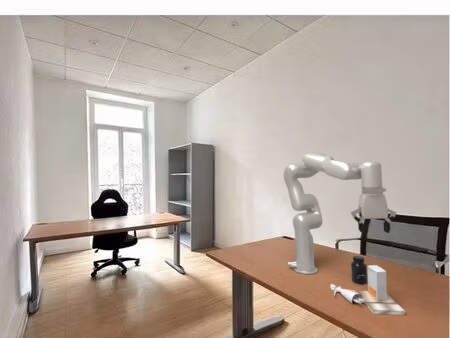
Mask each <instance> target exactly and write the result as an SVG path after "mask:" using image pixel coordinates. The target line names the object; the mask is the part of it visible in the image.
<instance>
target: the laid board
mask: <svg viewBox="0 0 450 338" xmlns="http://www.w3.org/2000/svg"><path fill="white" fill-rule="evenodd" d="M367 308H368V309H369V310H370V311H371V312H372V314H374V315H394V316H395V315H396V316H397V315H398V316H406V310H405V309H404V308H402V306H400V304H398V303H396V304H386V303H368V305H367Z"/></svg>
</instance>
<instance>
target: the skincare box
mask: <svg viewBox="0 0 450 338" xmlns="http://www.w3.org/2000/svg"><path fill="white" fill-rule="evenodd" d="M367 291H368V293H369V294H370V295H372V296H373V297H374V298H375V299H376V300H377V301H378V300H387V294H388V292H387V270H385V269H383V268H382V267H380V266H378V265H377V264H373V265H367Z"/></svg>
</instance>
